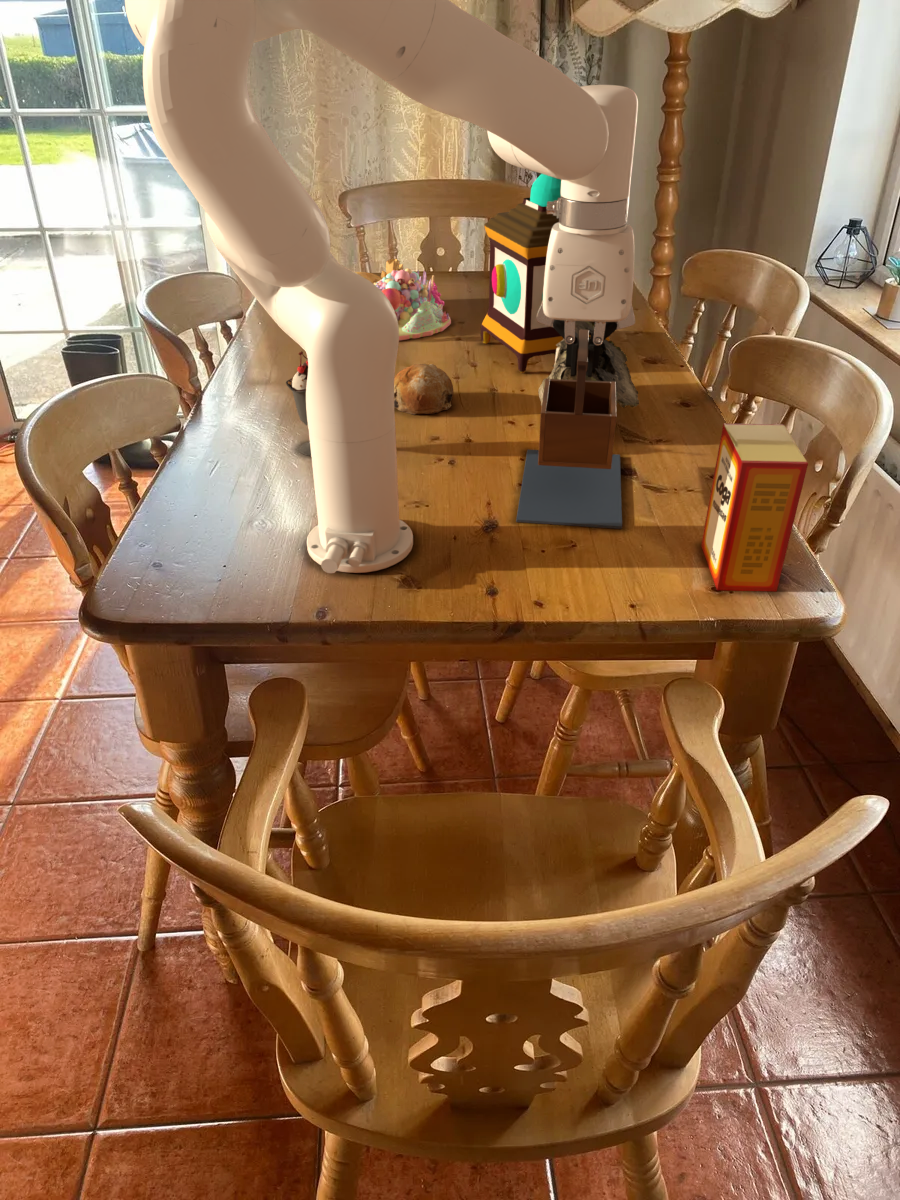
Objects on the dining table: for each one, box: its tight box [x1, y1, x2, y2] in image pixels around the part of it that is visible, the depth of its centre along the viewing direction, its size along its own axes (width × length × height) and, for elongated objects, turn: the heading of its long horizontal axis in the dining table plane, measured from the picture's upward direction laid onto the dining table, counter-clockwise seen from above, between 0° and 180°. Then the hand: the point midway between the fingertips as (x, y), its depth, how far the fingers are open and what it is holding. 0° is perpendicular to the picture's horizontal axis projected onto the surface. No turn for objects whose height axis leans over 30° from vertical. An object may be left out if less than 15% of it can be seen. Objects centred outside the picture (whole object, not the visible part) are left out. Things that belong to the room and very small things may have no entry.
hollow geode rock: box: [537, 321, 640, 409], centre depth 138 cm, size 28×13×15 cm
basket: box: [538, 330, 617, 469], centre depth 113 cm, size 11×9×14 cm
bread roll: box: [394, 363, 454, 416], centre depth 142 cm, size 10×10×8 cm
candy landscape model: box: [354, 258, 452, 341], centre depth 175 cm, size 25×24×9 cm
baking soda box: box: [700, 423, 809, 592], centre depth 100 cm, size 10×6×16 cm
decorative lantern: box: [480, 173, 611, 374], centre depth 154 cm, size 20×20×30 cm
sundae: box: [285, 350, 311, 457], centre depth 126 cm, size 7×7×15 cm
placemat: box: [515, 449, 623, 530], centre depth 120 cm, size 20×13×1 cm, turn 172°
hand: (581, 372), depth 111 cm, fingers closed on basket, 1 cm apart
